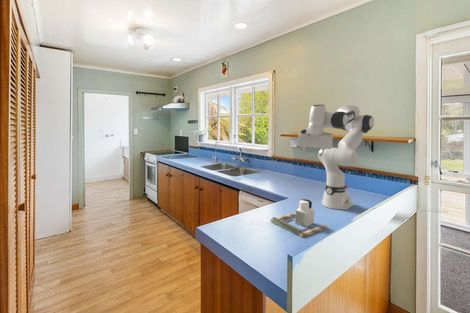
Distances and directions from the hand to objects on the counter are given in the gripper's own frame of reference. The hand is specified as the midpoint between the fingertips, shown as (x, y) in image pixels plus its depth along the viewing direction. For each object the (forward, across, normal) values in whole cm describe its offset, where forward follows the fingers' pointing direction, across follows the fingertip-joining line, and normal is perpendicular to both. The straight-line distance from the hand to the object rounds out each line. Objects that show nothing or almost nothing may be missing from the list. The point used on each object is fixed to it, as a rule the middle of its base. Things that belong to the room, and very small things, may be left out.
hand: (312, 155), depth 144 cm
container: (+38, -3, +12) cm, 40 cm away
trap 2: (+38, -8, +21) cm, 44 cm away
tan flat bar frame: (+38, -2, +16) cm, 41 cm away
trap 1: (+38, +6, +16) cm, 41 cm away
